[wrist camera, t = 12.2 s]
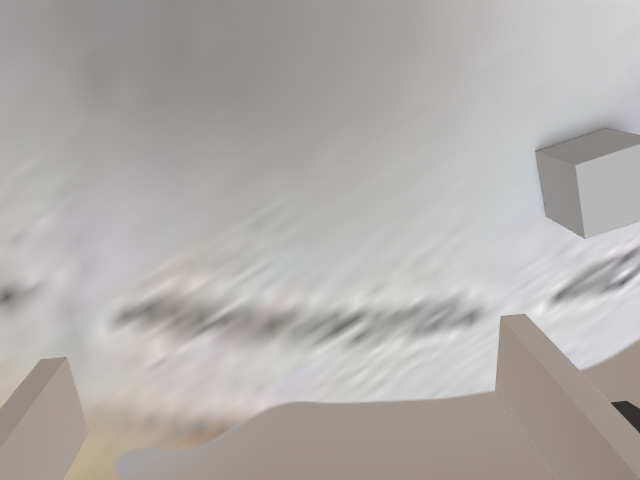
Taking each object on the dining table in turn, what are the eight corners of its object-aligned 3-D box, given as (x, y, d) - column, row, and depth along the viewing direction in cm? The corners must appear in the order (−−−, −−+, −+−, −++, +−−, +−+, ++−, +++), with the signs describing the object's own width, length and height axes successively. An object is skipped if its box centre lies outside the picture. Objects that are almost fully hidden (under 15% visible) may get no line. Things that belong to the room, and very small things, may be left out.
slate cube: (534, 151, 41) (575, 165, 35) (604, 128, 40) (656, 138, 35) (545, 215, 43) (585, 238, 37) (611, 194, 42) (661, 214, 37)
